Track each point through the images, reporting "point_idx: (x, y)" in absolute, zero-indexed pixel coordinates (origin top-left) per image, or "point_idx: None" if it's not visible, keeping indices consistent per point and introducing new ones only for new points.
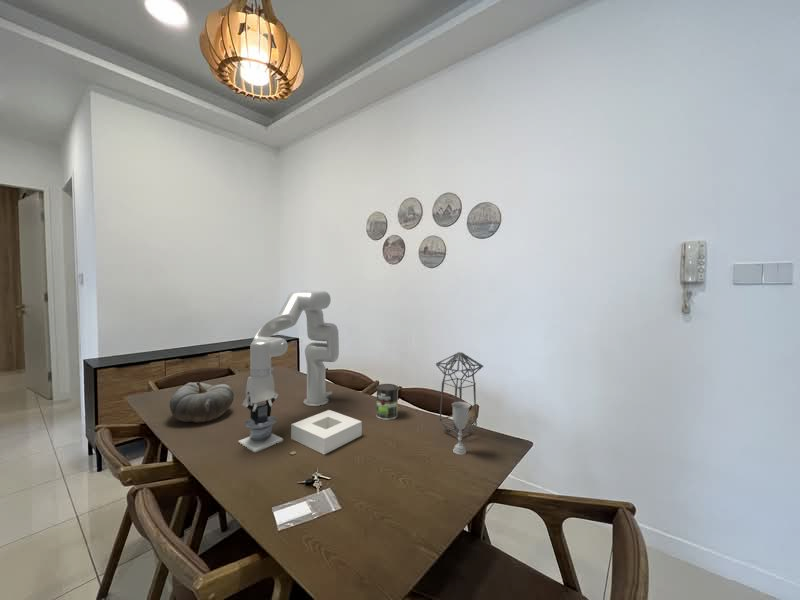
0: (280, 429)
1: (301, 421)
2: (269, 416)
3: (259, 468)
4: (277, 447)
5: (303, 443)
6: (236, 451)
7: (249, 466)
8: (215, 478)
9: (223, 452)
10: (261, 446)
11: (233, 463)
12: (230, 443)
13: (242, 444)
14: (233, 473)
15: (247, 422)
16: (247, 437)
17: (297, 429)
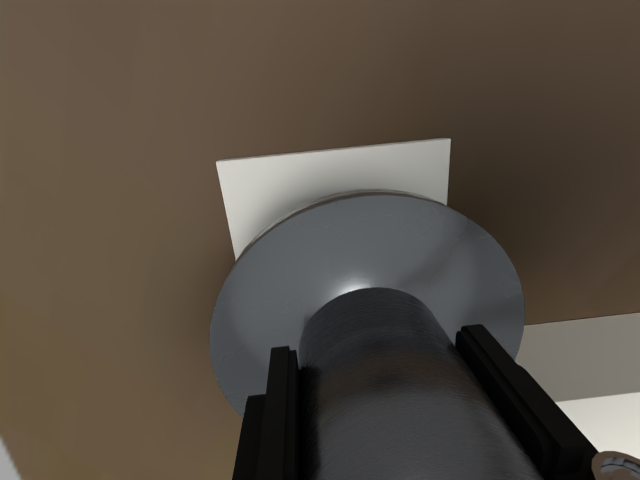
0: (534, 168)
1: (613, 408)
2: (493, 313)
3: (219, 463)
4: None
5: None
6: (176, 267)
7: (189, 431)
8: (37, 431)
9: (103, 226)
10: None
11: (132, 372)
12: (170, 125)
13: (230, 219)
14: (115, 439)
15: (236, 309)
16: (290, 156)
17: None
